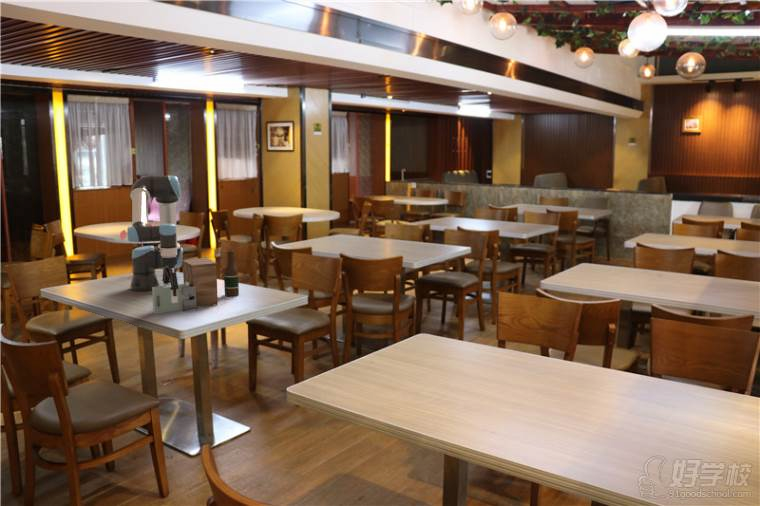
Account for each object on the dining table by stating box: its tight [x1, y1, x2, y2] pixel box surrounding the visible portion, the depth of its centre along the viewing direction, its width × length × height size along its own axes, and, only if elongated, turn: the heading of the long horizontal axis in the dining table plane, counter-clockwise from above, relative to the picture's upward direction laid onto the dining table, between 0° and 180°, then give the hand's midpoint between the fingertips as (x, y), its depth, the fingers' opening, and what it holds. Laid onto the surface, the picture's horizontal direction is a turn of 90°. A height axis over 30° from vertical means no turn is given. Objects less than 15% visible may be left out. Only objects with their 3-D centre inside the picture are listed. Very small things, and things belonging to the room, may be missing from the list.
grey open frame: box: [182, 283, 197, 312], centre depth 314 cm, size 8×6×12 cm
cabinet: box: [182, 257, 219, 308], centre depth 326 cm, size 18×13×21 cm
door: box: [151, 282, 190, 314], centre depth 310 cm, size 5×17×13 cm, turn 122°
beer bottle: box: [223, 250, 240, 298], centre depth 342 cm, size 8×8×24 cm
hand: (170, 299), depth 310 cm, fingers open, 13 cm apart
